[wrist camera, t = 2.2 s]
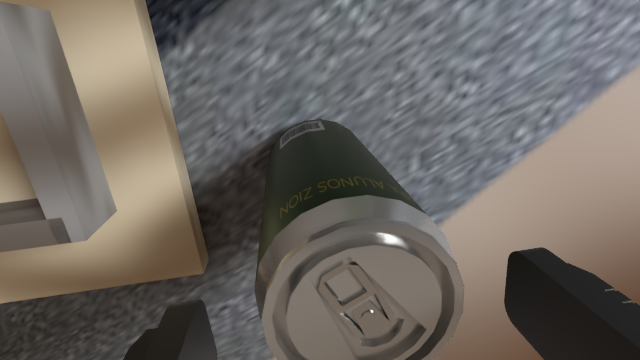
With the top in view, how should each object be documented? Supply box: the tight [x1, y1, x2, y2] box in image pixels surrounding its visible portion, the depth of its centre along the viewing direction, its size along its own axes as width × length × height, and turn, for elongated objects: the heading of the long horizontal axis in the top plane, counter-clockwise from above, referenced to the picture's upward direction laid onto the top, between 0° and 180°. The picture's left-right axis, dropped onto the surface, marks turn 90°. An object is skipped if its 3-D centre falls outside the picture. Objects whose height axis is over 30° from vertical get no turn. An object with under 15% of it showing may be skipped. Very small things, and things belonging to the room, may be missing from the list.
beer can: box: [254, 119, 464, 360], centre depth 14 cm, size 5×5×12 cm
